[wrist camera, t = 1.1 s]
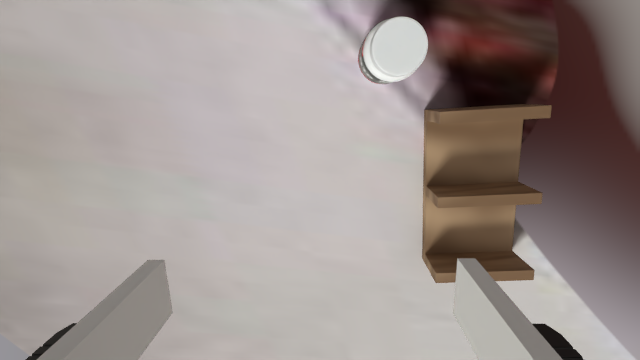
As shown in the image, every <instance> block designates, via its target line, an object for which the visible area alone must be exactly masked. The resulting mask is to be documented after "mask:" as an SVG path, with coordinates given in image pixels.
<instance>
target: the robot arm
mask: <svg viewBox="0 0 640 360" xmlns="http://www.w3.org/2000/svg"><path fill="white" fill-rule="evenodd" d="M172 313H173V312H172V305H171V299H170V293H169V286H168V280H167V274H166V267H165V261H164V260H147V261H146V262H145V263H144V264H143V265H142V266H141V267H140V268H138V269H137V270H136V271H135V272H134V273H133V274H132V275H131V276H130V277H128V278H127V279H126V280H125V281H124V282H123V283H122V284H121V285H119V286H118V287H117V288H116V289H115V290H114V291H113V292H112V293H111V294H109V295H108V296H107V297H106V298H105V299H104V300H103V301H102V302H100V303H99V304H98V305H97V306H96V307H95V308H94V309H93V310H92V311H90V312H89V313H88V314H87V315H86V316H85V317H84V318H83V319H81V320H80V321H79V322H78V323H73V324H71V325H69V326H68V327H66V328H64V329H63V330H61V331H59V332H57V333H56V334H55V335H54V336H52V337H51V338H50V339H49V340H48V341H47V342H45V343H44V344H43V347H40V348H38V349H37V350H36V351H35V352H34V353H33V354H32V356H29V357H28V358H27V359H26V360H138V359H139V358H140V356H141V355H142V353H143V352H144V351H145V349H146V348H147V347H148V345H149V344H150V343H151V341H152V340H153V339H154V337H155V336H156V334H157V333H158V332H159V330H160V329H161V328H162V326H163V325H164V324H165V322H166V321H167V320H168V318H169V317H170V315H171V314H172ZM453 314H454V316H455V318H456V320H457V322H458V323H459V325H460V327H461V329H462V331H463V333H464V334H465V336H466V338H467V340H468V342H469V344H470V345H471V347H472V349H473V351H474V353H475V355H476V356H477V358H478V360H583V358H582V356H581V355H580V354H579V353H578V352H577V351H576V350H575V349H573V347H572V346H571V345H570V343H569V342H568V341H567V340H566V339H565V338H564V337H563V336H562V335H561V334H560V333H558V332H556V331H555V330H553V329H552V328H550V327H549V326H547V325H546V324H532V323H531V322H530V321H529V320H528V319H527V318H526V316H525V315H524V314H523V313H522V312H521V311H520V310H519V308H518V307H517V306H516V305H515V304H514V303H513V301H512V300H511V299H510V298H509V297H508V296H507V294H506V293H505V292H504V291H503V290H502V289H501V288H500V286H499V285H498V284H497V283H496V282H495V281H494V279H493V278H492V277H491V276H490V275H489V274H488V272H487V271H486V270H485V269H484V268H483V267H482V266H481V264H480V263H479V262H478V261H477V260H476V259H475V258H457V270H456V281H455V293H454V305H453Z"/></svg>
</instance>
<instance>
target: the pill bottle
mask: <svg viewBox="0 0 640 360" xmlns="http://www.w3.org/2000/svg"><path fill="white" fill-rule="evenodd" d="M427 50H428V38H427V35H426V32H425V30H424V28H423V27H422V26H421V24H420V23H418V22H417V21H416V20H414V19H412V18H409V17H404V16H400V17H394V18H391V19H387V20H384V21H382V22H380V23H378V24H377V25H376V26H375V27H374V28H373V29H372V30H371V31H370V32H369V33H368V35H367V37H366V39H365V40H364V42H363V44H362V46H361V48H360V50H359V55H358V63H359V67H360V70H361V72H362V73H363V75H364V76H365V77H366V78H367V79H368V80H370V81H371V82H374V83H377V84H388V83H392V82H398V81H401V80H403V79H406V78H407V77H409V76H410V75H412V74H413V73H414V72H415V71H416V70H417V68H418V67H419V66H420V65H421V63H422V62H423V60H424V59H425V56H426V54H427Z"/></svg>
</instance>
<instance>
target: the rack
mask: <svg viewBox="0 0 640 360" xmlns="http://www.w3.org/2000/svg"><path fill="white" fill-rule="evenodd" d="M550 116H551V105H528V104H513V105H496V106H479V107H463V108H446V109H429V110H424V180H423V249H422V258H423V260H424V262H425V264H426V266H427V268H428V269H429V271H430V273H431V275H432V277H433V279H434V280H435V282H436V283H449V282H455V281H456V270H457V258H475V259H476V260H477V261H478V262H479V263H480V264H481V266H482V267H483V268H484V269H485V270H486V271H487V272H488V274H489V275H490V276H491V277H492V278H493V279H494V281H514V280H533V279H534V269H532V268H531V267H530V266H529V265H528V264H527V263H525V262H524V261H523V260H522V259H521V258H520V257H519V256H517V255H516V254H515V253H514V252H513V251H512V246H513V234H514V223H515V210H516V205H524V204H541V202H542V192H539V191H537V190H535V189H533V188H530V187H528V186H526V185H524V184H522V183H520V182H518V176H519V162H520V152H521V140H522V128H523V119H537V118H550Z"/></svg>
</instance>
